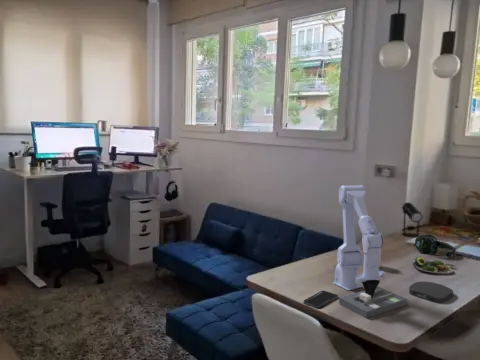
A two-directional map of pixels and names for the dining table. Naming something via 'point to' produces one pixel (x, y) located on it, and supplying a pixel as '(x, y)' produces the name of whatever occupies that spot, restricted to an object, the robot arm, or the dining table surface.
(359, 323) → the dining table surface
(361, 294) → the block
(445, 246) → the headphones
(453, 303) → the dining table surface
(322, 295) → the phone
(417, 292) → the media streaming box
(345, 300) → the panel
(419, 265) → the salad plate
